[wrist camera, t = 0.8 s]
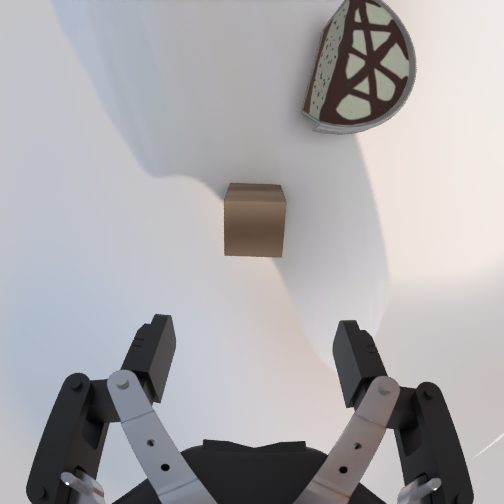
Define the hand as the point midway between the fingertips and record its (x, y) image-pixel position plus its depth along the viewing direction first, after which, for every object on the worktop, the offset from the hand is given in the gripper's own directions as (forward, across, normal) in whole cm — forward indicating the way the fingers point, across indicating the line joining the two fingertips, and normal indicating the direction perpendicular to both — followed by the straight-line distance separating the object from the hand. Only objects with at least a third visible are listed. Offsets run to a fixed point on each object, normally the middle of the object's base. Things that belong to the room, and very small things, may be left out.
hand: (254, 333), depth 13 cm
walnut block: (+18, 0, 0) cm, 18 cm away
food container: (+18, -8, -14) cm, 24 cm away
